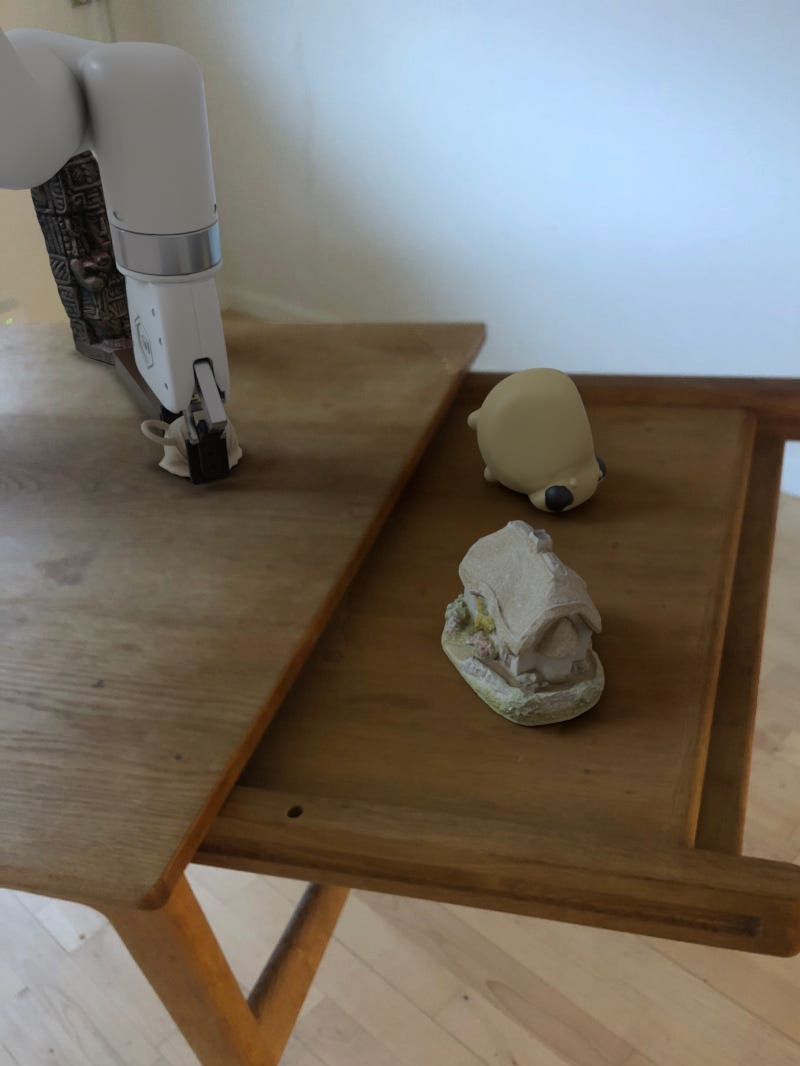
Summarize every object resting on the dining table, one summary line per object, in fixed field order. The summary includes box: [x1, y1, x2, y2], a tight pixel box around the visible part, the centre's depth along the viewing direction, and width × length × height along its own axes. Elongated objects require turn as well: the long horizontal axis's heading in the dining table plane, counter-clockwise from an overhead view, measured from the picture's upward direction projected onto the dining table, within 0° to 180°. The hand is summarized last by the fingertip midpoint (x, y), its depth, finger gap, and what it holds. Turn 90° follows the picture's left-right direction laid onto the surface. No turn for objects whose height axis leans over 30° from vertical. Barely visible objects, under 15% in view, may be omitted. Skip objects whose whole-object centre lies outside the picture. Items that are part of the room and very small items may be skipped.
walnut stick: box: [112, 347, 165, 437], centre depth 89 cm, size 2×14×2 cm, turn 32°
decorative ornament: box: [140, 410, 243, 478], centre depth 80 cm, size 4×8×5 cm, turn 122°
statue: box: [29, 150, 133, 365], centre depth 91 cm, size 7×7×20 cm
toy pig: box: [467, 367, 607, 513], centre depth 80 cm, size 10×12×11 cm
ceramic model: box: [441, 519, 606, 727], centre depth 63 cm, size 14×11×10 cm
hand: (197, 460), depth 81 cm, fingers open, 5 cm apart
